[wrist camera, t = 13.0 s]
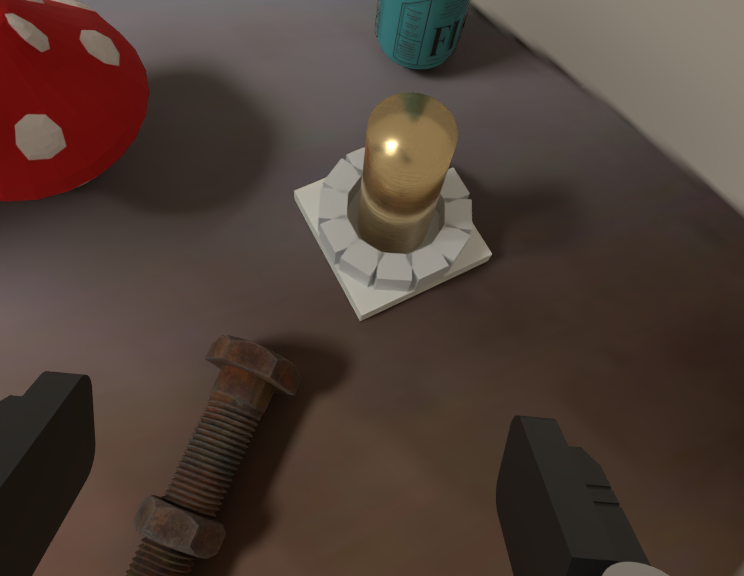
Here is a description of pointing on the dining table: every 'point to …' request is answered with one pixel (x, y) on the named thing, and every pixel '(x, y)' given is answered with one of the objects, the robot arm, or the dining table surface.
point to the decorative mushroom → (63, 97)
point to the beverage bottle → (420, 30)
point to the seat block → (388, 270)
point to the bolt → (210, 459)
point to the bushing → (404, 170)
